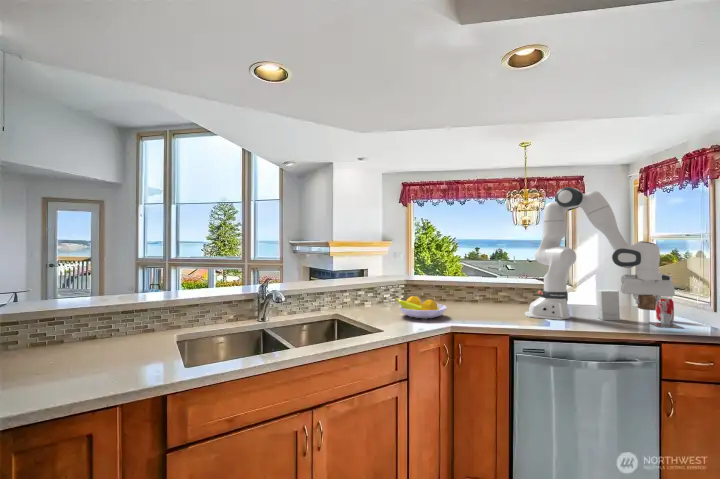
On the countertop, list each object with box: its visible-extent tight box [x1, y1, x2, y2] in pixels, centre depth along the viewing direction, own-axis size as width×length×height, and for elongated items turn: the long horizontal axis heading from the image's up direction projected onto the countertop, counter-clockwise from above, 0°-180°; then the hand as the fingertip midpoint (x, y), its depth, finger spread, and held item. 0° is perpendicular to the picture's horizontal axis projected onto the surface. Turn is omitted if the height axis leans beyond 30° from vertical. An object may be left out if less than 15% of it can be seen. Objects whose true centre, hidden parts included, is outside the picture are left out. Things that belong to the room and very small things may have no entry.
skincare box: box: [596, 289, 621, 322], centre depth 187 cm, size 8×7×16 cm
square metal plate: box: [648, 313, 685, 330], centre depth 172 cm, size 10×10×6 cm
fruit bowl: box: [395, 295, 448, 319], centre depth 199 cm, size 28×27×11 cm
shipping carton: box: [637, 295, 656, 312], centre depth 167 cm, size 5×5×7 cm
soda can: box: [655, 296, 675, 323], centre depth 182 cm, size 7×7×12 cm
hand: (646, 304), depth 167 cm, fingers closed on shipping carton, 5 cm apart
